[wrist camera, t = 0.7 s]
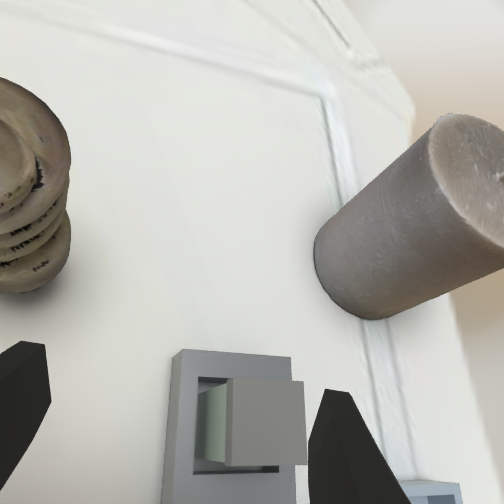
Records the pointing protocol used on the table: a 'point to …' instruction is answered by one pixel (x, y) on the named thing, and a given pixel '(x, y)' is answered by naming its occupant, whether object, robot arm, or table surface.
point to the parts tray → (431, 492)
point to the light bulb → (31, 191)
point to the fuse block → (184, 435)
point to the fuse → (252, 423)
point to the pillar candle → (419, 223)
